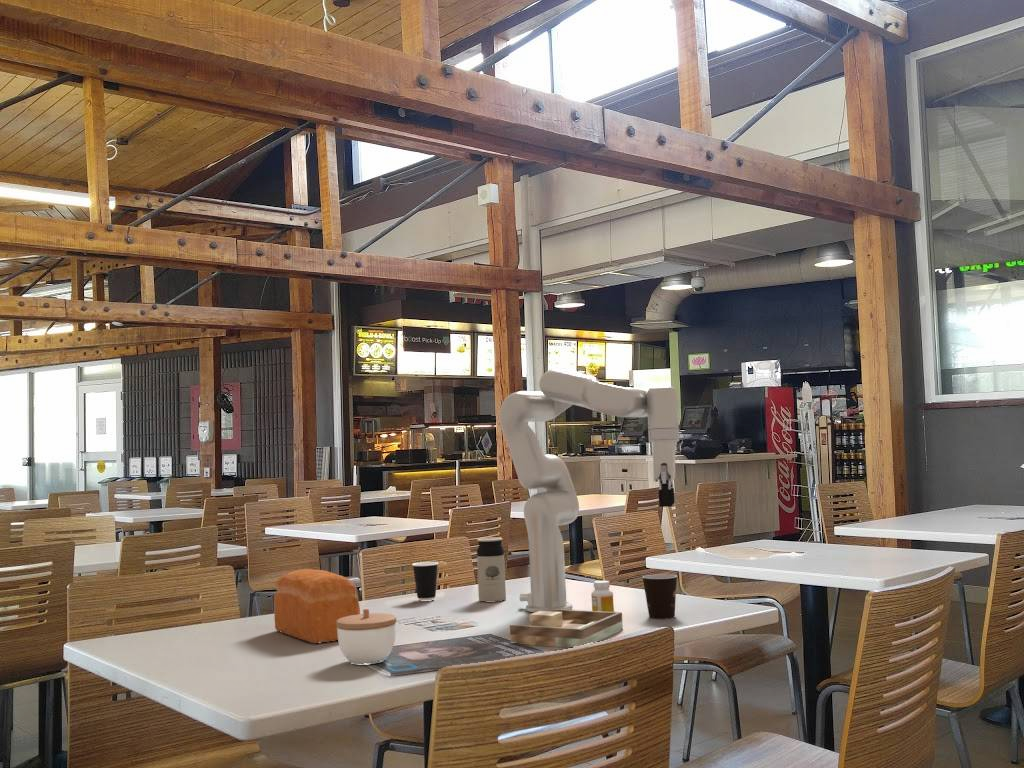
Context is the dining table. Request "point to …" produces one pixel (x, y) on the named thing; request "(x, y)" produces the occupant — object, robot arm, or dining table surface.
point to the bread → (313, 604)
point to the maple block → (546, 619)
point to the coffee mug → (660, 595)
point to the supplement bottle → (602, 597)
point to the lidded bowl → (366, 636)
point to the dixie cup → (425, 579)
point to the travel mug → (491, 569)
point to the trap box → (570, 629)
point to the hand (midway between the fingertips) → (667, 505)
